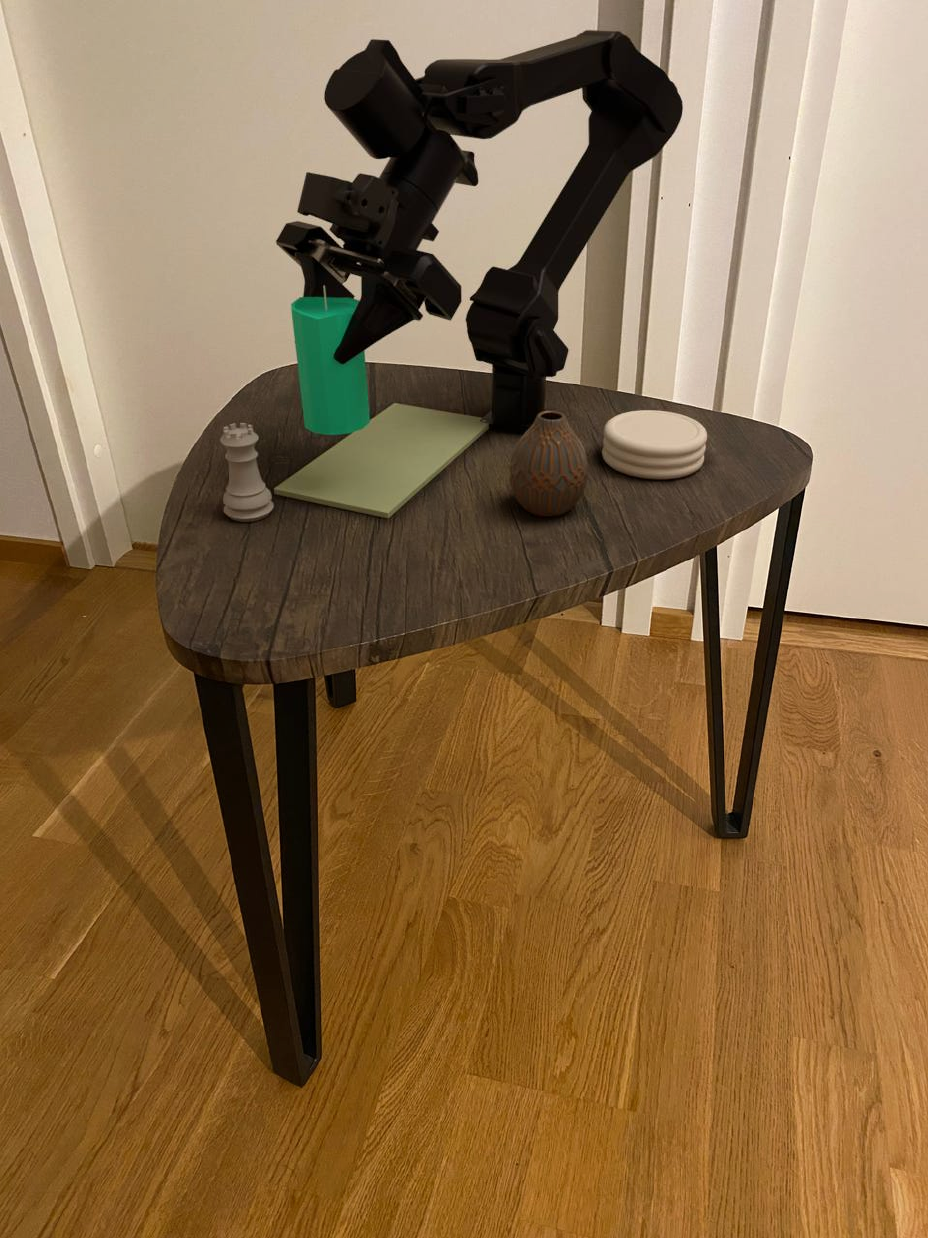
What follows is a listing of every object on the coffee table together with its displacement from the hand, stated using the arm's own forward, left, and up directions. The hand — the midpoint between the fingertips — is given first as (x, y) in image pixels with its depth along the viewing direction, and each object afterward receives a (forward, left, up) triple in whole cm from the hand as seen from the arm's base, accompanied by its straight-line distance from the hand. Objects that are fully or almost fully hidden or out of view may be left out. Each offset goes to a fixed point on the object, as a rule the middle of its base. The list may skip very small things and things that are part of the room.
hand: (317, 353), depth 84 cm
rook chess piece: (+6, -5, -13) cm, 16 cm away
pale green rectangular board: (-10, +1, -13) cm, 17 cm away
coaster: (-20, +25, -13) cm, 35 cm away
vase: (-6, +19, -13) cm, 24 cm away
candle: (-1, 0, -7) cm, 7 cm away
